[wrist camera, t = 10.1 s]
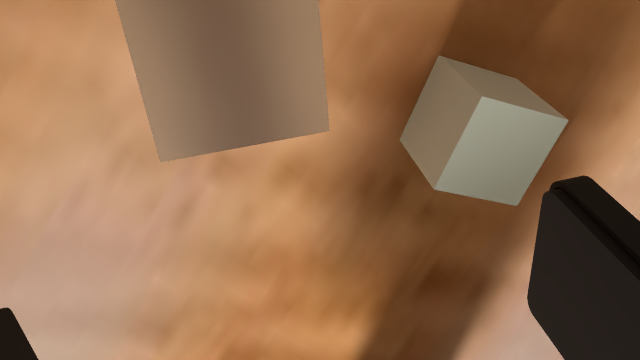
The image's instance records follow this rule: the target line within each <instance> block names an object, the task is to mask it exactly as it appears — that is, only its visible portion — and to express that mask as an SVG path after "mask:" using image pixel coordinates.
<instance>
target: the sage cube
mask: <svg viewBox="0 0 640 360" xmlns="http://www.w3.org/2000/svg"><path fill="white" fill-rule="evenodd" d="M568 121H569V120H568V119H567V118H565V117H564V116H563V115H562V114H560V113H559V112H558V111H557V110H555V109H554V108H553V107H552V106H550V105H549V104H548V103H547V102H545V101H544V100H543V99H542V98H540V97H539V96H538V95H537V94H535V93H534V92H533V91H532V90H530V89H529V88H528V87H527V86H525V85H524V84H523V83H522V82H520V81H519V80H518V79H516V78H513V77H510V76H506V75H503V74H500V73H496V72H493V71H490V70H486V69H483V68H480V67H476V66H473V65H469V64H466V63H463V62H459V61H456V60H453V59H449V58H446V57H443V56H439V55H438V58H437V60H436V62H435V64H434V66H433V68H432V71H431V73H430V75H429V77H428V79H427V81H426V83H425V86H424V88H423V90H422V92H421V94H420V96H419V98H418V101H417V103H416V105H415V107H414V109H413V111H412V114H411V116H410V118H409V120H408V122H407V124H406V126H405V129H404V131H403V133H402V135H401V137H400V139H399V140H400V142H401V143H402V144H403V146H404V147H405V149H406V150H407V152H408V153H409V154H410V156H411V157H412V159H413V160H414V162H415V163H416V165H417V166H418V167H419V169H420V170H421V172H422V173H423V175H424V176H425V178H426V179H427V180H428V182H429V183H430V185H431V186H432V188H433V189H434V190H439V191H444V192H449V193H454V194H459V195H464V196H469V197H474V198H479V199H484V200H489V201H494V202H499V203H504V204H509V205H514V206H517V205H518V203H519V202H520V200H521V199H522V197H523V195H524V194H525V192H526V190H527V189H528V187H529V185H530V184H531V182H532V180H533V179H534V177H535V175H536V174H537V172H538V170H539V169H540V167H541V165H542V164H543V162H544V160H545V159H546V157H547V155H548V154H549V152H550V151H551V149H552V147H553V146H554V144H555V142H556V141H557V139H558V137H559V136H560V134H561V132H562V131H563V129H564V127H565V126H566V124H567V122H568Z"/></svg>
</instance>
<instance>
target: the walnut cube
mask: <svg viewBox="0 0 640 360" xmlns="http://www.w3.org/2000/svg"><path fill="white" fill-rule="evenodd" d="M115 1H116V5H117V8H118V12H119V16H120V19H121V23H122V26H123V30H124V34H125V37H126V41H127V44H128V48H129V52H130V55H131V59H132V62H133V66H134V70H135V73H136V77H137V80H138V84H139V87H140V91H141V95H142V98H143V102H144V105H145V109H146V113H147V116H148V120H149V123H150V127H151V131H152V134H153V138H154V141H155V145H156V149H157V152H158V156H159V159H160V162H165V161H170V160H176V159H181V158H187V157H192V156H197V155H203V154H208V153H213V152H219V151H224V150H230V149H235V148H240V147H246V146H251V145H257V144H262V143H267V142H273V141H278V140H283V139H289V138H294V137H300V136H305V135H310V134H316V133H321V132H326V131H329V119H328V107H327V95H326V83H325V71H324V59H323V47H322V35H321V22H320V10H319V0H115Z"/></svg>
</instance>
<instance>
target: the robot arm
mask: <svg viewBox="0 0 640 360" xmlns="http://www.w3.org/2000/svg"><path fill="white" fill-rule="evenodd" d="M527 299H528V305H529V308H530V310H531V313H532V314H533V316H534V317H535V319H536V320H537V322H538V323H539V324H540V326H541V327H542V329H543V330H544V331H545V333H546V334H547V336H548V337H549V338H550V340H551V341H552V343H553V344H554V345H555V347H556V348H557V349H558V351H559V352H560V354H561V355H562V356H563V358H564V359H565V360H640V221H639V220H637V219H636V218H635V217H634V216H633V215H632V214H631V213H630V212H628V211H627V210H626V209H625V208H624V207H623V206H622V205H621V204H619V203H618V202H617V201H616V200H615V199H614V198H613V197H612V196H610V195H609V194H608V193H607V192H606V191H605V190H604V189H603V188H601V187H600V186H599V185H598V184H597V183H596V182H595V181H594V180H593V179H591V178H590V177H588V176H579V177H575V178H570V179H565V180H560V181H556V182H554V183H553V184H552V185H551V187H550V190H549V191H547V192H545V193H544V195H543V198H542V204H541V210H540V217H539V223H538V230H537V236H536V243H535V249H534V256H533V263H532V269H531V276H530V282H529V289H528V296H527ZM0 360H38V358H37V356H36V354H35V353H34V351H33V349H32V347H31V345H30V343H29V342H28V340H27V338H26V336H25V334H24V332H23V330H22V329H21V327H20V325H19V323H18V321H17V319H16V318H15V316H14V314H13V312H12V311H11V309H9V308H2V309H0Z"/></svg>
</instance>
